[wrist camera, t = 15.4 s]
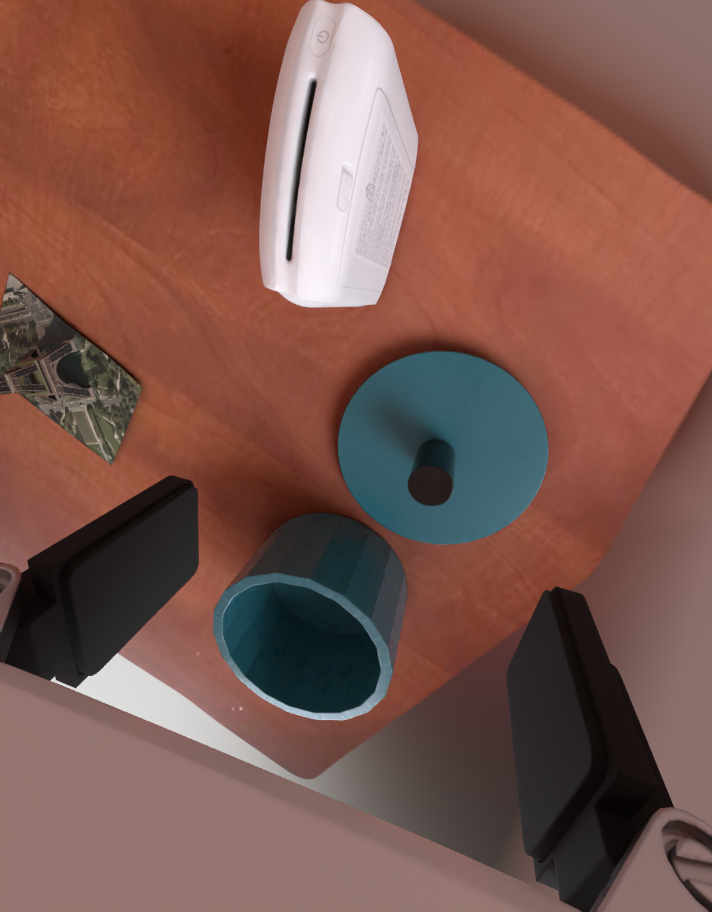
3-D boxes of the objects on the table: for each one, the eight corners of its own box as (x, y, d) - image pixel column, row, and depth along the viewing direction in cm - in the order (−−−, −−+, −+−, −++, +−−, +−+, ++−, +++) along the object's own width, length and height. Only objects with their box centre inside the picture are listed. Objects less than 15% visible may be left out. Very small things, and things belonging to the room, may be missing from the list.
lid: (581, 376, 25) (613, 398, 20) (504, 559, 31) (513, 615, 26) (359, 328, 28) (333, 336, 22) (328, 507, 34) (302, 547, 28)
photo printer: (359, 114, 23) (261, -56, 12) (428, 130, 22) (394, -35, 11) (323, 297, 27) (227, 296, 16) (381, 313, 27) (322, 324, 16)
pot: (424, 539, 32) (411, 613, 25) (388, 655, 38) (369, 744, 31) (270, 493, 35) (215, 547, 27) (259, 609, 41) (211, 681, 33)
